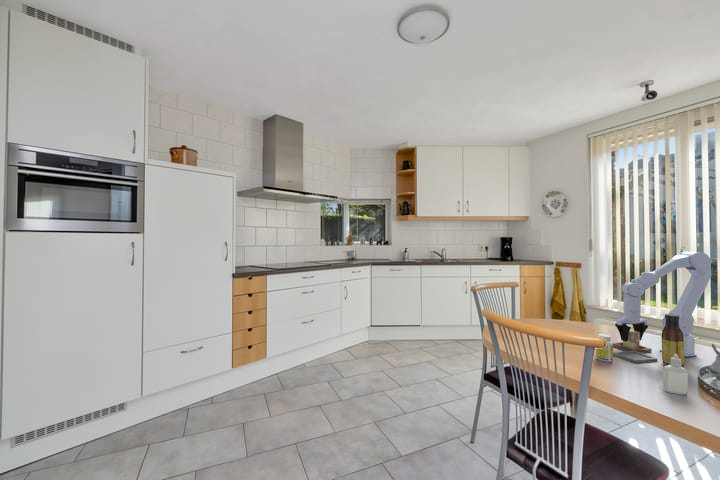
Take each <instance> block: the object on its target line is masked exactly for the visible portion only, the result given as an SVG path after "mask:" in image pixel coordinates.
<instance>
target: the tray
mask: <svg viewBox="0 0 720 480" xmlns="http://www.w3.org/2000/svg"><path fill="white" fill-rule="evenodd" d="M614 356H615V357H617V358H620V359H623V360H625V361H628V362H631V363H633V364H641V363H642V364H643V363H653V362H654V363H655V362H658V358H657V357H654V356H651V355H649V354H646V353H639V352H636V351H624V350H621V351H613V357H614Z"/></svg>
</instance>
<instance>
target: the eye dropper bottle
mask: <svg viewBox="0 0 720 480" xmlns="http://www.w3.org/2000/svg"><path fill="white" fill-rule="evenodd" d="M670 364H671V365H667V366H665V365H664V366H663V374H662V380H663V381H662V389H663V390H664V391H665V392H667V393H669V394H674V395H683V396H684V395H686V396H687V395H688V392H689V390H688V389H689V371H688V369H687V368H685V367H684V368H683V367H681V359H679V358H678V355H677V354H674V357H672V358H671V363H670Z"/></svg>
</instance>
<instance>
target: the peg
mask: <svg viewBox="0 0 720 480" xmlns="http://www.w3.org/2000/svg"><path fill="white" fill-rule="evenodd" d="M622 342H623V346H625V347H628V348H631V349H640V344H641V343H640V332H637V331H634V329H633V330H632V329H630V331H629V334H628V341H627V342H626V341H623V340H622Z"/></svg>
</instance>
